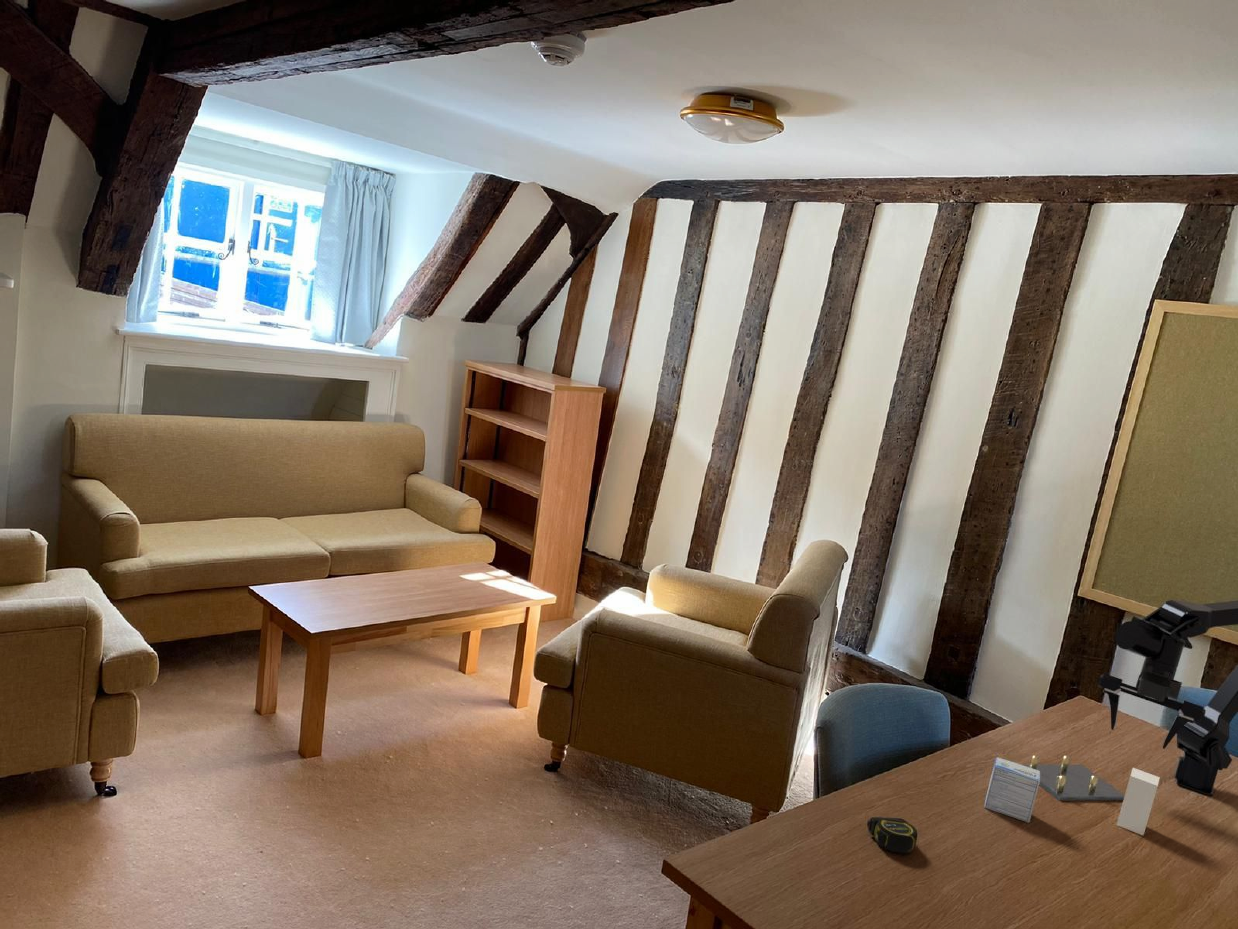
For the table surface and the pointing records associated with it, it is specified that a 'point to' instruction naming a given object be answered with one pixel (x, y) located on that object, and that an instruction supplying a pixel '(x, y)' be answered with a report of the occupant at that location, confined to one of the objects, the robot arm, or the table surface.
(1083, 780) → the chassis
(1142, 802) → the block
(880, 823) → the tape measure
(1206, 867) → the table surface
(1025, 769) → the medicine box
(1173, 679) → the robot arm
